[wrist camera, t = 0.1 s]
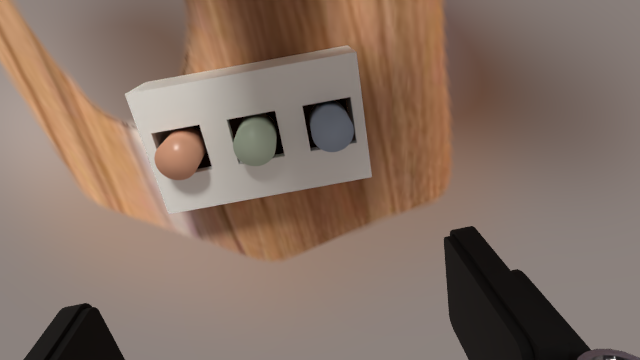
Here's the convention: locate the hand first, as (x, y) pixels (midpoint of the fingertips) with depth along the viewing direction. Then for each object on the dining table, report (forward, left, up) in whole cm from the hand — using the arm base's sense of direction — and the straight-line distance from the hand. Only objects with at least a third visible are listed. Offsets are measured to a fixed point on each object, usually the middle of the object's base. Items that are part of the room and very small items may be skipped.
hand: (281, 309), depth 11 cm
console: (+4, -4, -37) cm, 37 cm away
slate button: (+4, +4, -33) cm, 34 cm away
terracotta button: (+4, -11, -33) cm, 35 cm away
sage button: (+4, -4, -33) cm, 34 cm away
